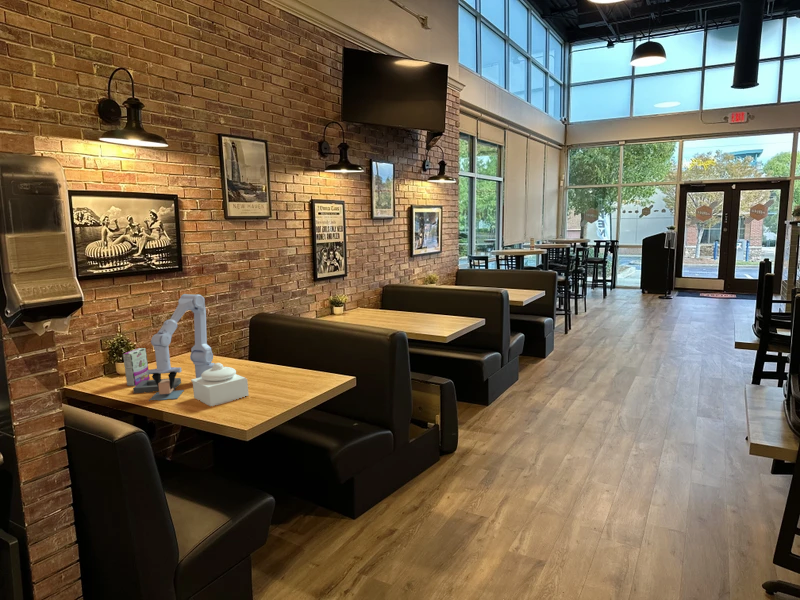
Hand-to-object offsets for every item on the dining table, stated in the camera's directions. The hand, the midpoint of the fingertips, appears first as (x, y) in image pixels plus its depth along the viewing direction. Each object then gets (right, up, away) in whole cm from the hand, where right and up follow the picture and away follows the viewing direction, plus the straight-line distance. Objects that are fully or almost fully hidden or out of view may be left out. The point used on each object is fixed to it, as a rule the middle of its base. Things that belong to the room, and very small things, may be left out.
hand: (166, 388), depth 241 cm
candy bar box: (-24, -1, +23) cm, 34 cm away
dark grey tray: (-10, -2, +13) cm, 16 cm away
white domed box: (+26, -4, -4) cm, 27 cm away
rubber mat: (0, -3, 0) cm, 3 cm away
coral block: (0, -2, 0) cm, 2 cm away
